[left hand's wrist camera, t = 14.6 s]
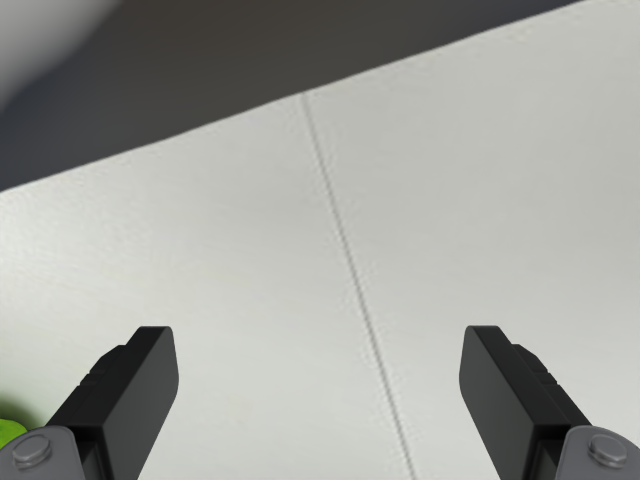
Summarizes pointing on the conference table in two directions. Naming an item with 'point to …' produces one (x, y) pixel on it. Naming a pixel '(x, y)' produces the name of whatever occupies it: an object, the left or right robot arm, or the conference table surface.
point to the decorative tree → (9, 431)
